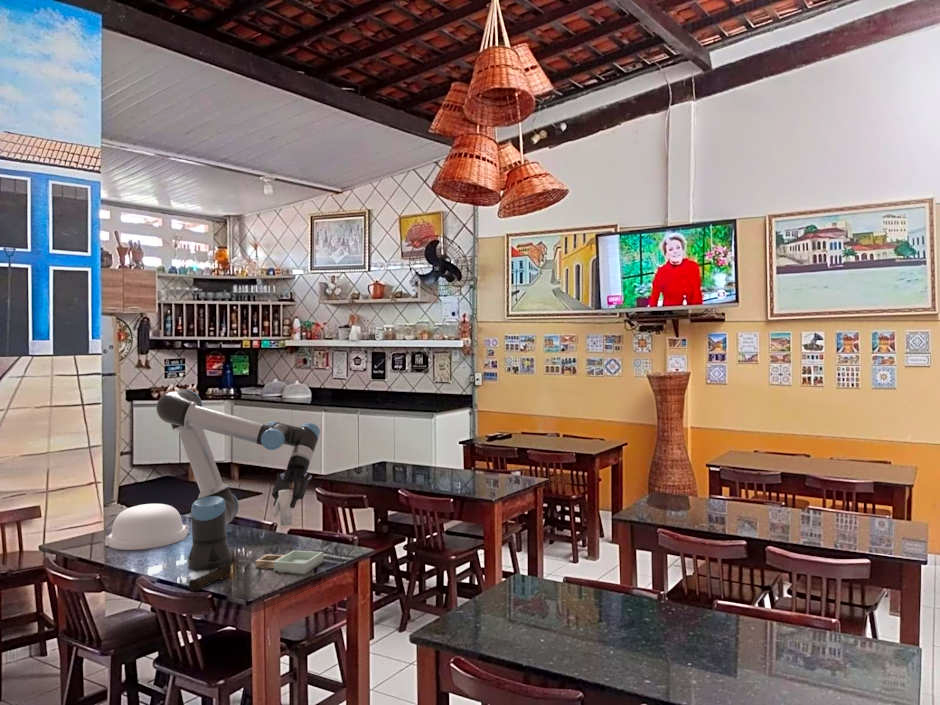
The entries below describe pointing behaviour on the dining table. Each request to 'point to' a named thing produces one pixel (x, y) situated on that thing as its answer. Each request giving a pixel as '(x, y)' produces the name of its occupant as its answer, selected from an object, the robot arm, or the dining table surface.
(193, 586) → the hand tool
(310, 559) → the tray
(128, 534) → the dome cover
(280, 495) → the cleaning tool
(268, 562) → the slotted holder
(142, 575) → the dining table surface
